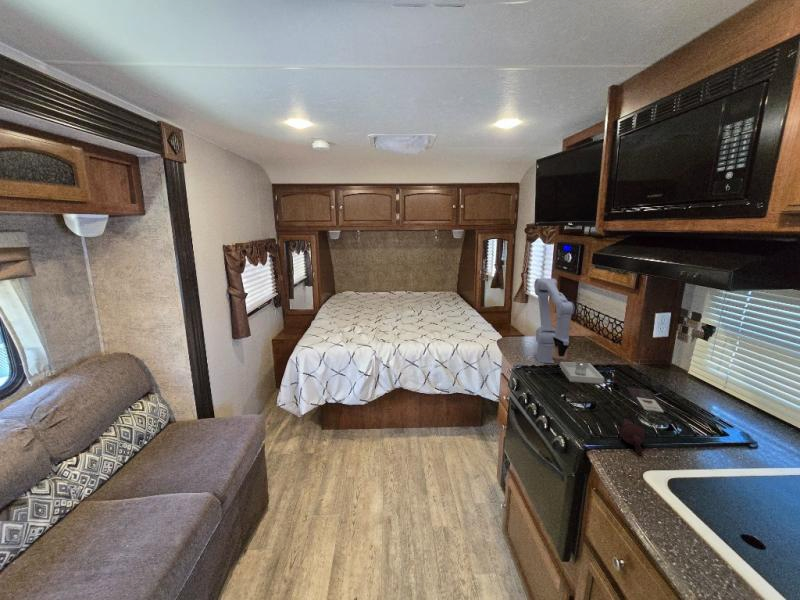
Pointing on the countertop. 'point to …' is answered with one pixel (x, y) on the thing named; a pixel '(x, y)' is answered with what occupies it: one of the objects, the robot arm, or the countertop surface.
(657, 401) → the chocolate bar
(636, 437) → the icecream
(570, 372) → the tray
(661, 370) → the countertop surface
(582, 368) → the tin
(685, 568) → the countertop surface
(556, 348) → the carton
